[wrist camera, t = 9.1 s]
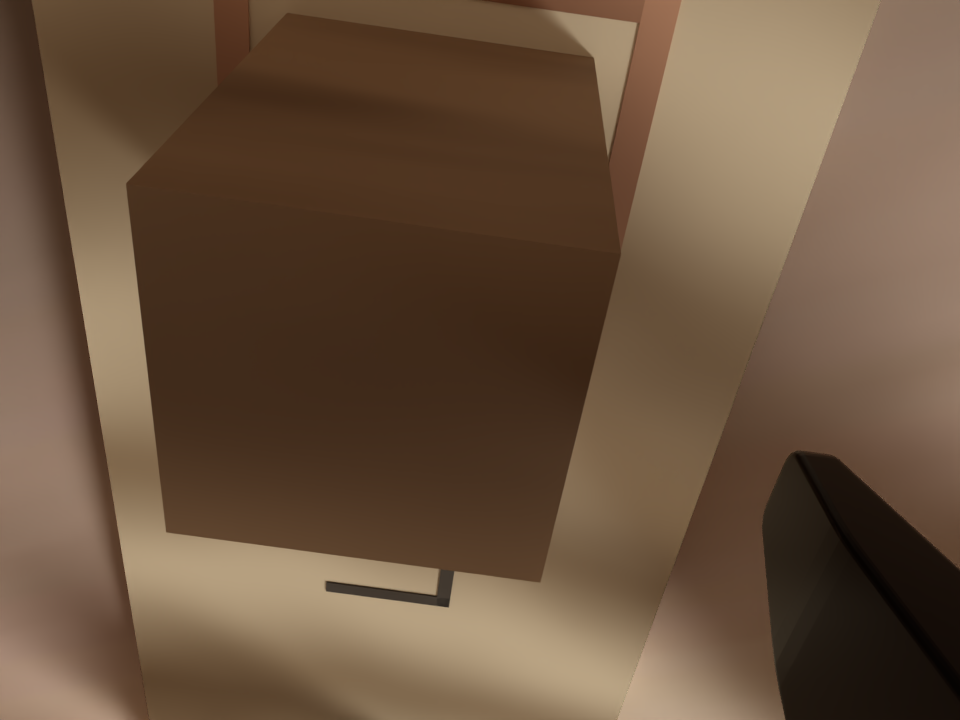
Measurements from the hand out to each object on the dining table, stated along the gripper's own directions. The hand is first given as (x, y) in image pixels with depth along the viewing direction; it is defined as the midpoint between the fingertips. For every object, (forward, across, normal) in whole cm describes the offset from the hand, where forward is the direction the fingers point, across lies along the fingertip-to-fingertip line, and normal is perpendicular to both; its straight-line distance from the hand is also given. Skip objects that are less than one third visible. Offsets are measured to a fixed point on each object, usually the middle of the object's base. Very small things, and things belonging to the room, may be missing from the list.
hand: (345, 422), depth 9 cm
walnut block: (+6, 0, 0) cm, 6 cm away
